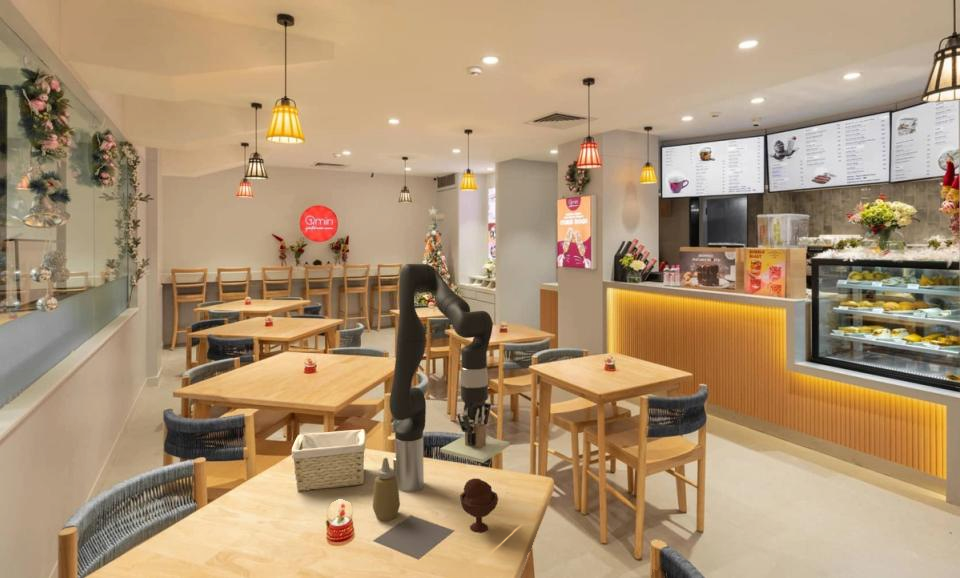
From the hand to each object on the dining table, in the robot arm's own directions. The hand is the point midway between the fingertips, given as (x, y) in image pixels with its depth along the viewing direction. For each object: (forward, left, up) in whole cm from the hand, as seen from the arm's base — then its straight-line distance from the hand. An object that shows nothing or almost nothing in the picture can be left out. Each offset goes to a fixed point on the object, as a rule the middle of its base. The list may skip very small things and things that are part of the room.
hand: (475, 443), depth 146 cm
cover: (0, 0, -2) cm, 2 cm away
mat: (-12, -12, -25) cm, 31 cm away
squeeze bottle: (-26, -8, -26) cm, 38 cm away
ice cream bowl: (+1, +1, -26) cm, 26 cm away
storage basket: (-60, 0, -26) cm, 65 cm away
